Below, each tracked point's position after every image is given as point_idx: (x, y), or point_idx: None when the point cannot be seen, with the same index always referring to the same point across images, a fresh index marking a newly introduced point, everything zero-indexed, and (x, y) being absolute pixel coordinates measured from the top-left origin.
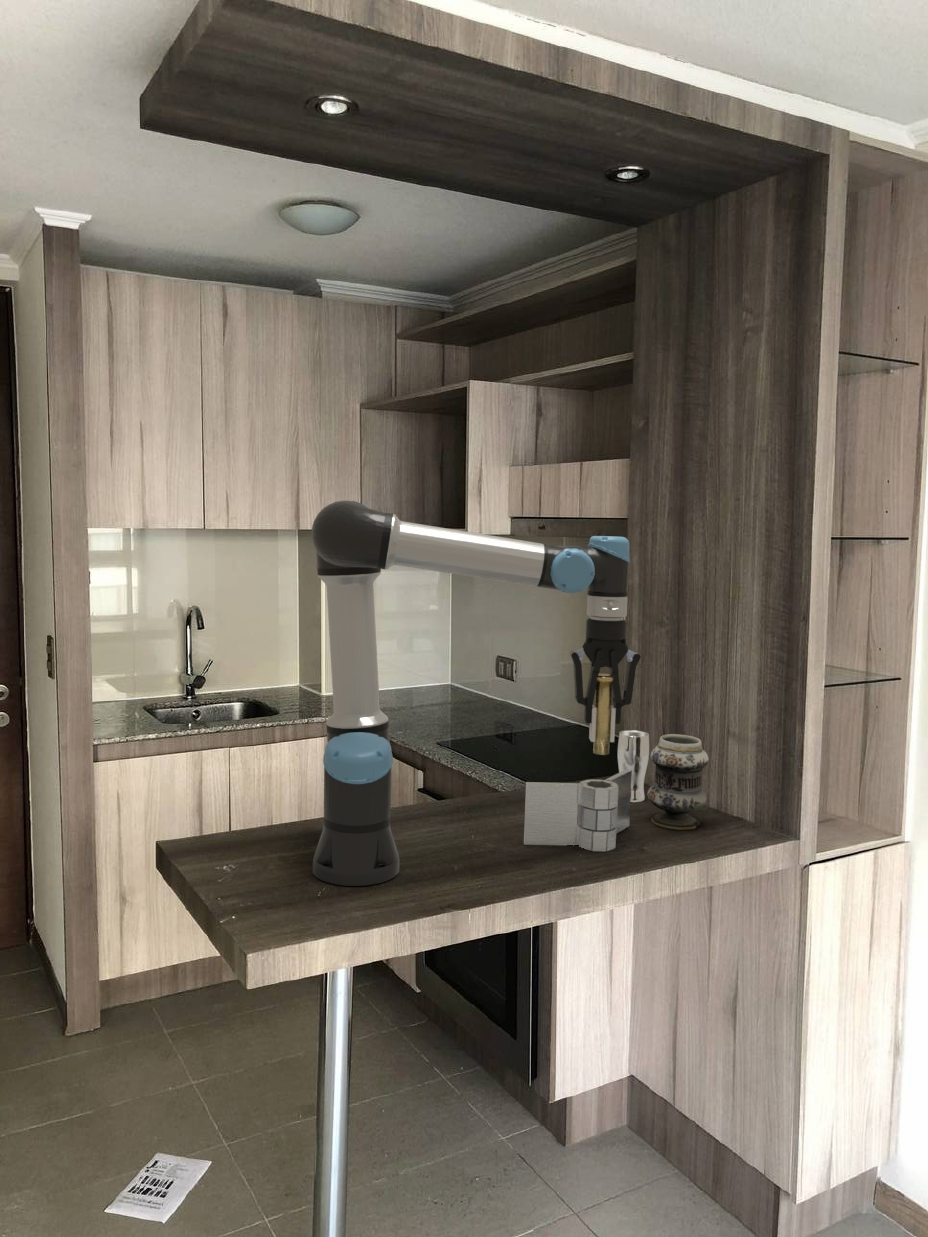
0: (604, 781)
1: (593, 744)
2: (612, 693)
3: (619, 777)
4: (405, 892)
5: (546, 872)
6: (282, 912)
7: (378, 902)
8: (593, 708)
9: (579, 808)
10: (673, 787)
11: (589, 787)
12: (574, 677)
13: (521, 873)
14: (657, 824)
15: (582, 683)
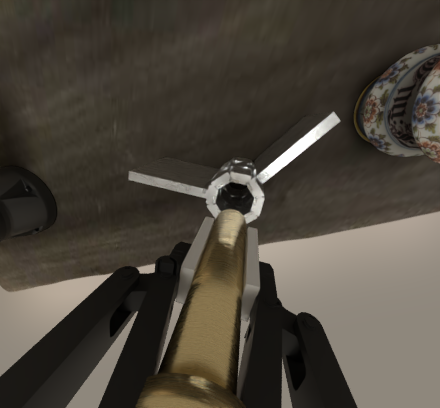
0: (250, 186)
1: (213, 225)
2: (251, 336)
3: (291, 160)
4: (67, 244)
5: (171, 232)
6: (3, 254)
7: (53, 254)
8: (179, 301)
9: None
10: (402, 141)
11: (214, 212)
12: (26, 358)
13: (150, 230)
14: (354, 120)
15: (84, 381)
